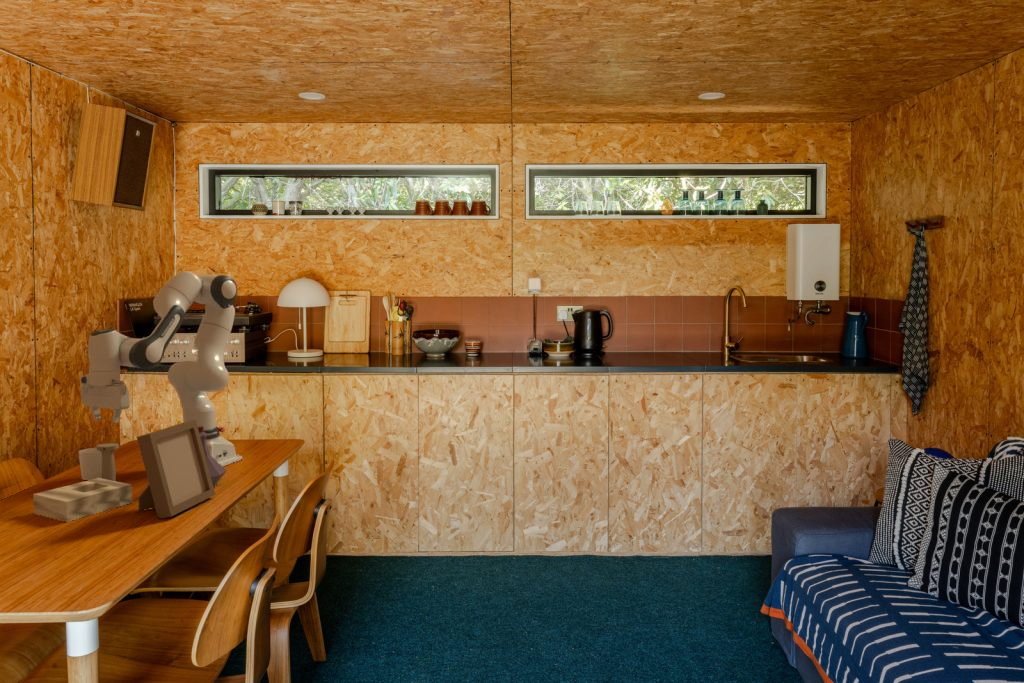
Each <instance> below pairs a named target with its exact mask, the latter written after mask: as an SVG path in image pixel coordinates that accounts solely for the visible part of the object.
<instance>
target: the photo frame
mask: <svg viewBox="0 0 1024 683" xmlns="http://www.w3.org/2000/svg"><path fill="white" fill-rule="evenodd" d="M136 440H137V444H138V447H139V450H140V455H141V459H142V462H143V465H144V469H145V473H146V477H147V481H148V484H147V487H146V488H145V489H144V490H143V491H142V493H141V494H140V495H139V496H138V510H143V511H145V510H144V509H148V510H150V509H149V508H153V509H155V511H156V514H157V518H158V517H159V518H162V519H165V518H166V519H167V518H171V517H173V516H176V515H177V514H179V513H181V512H183V511H185V510H187V509H189V508H192V507H194V506H196V505H197V504H199V503H201V502H203V501H205V500H208V499H210V498H212V497H214V496H215V495H216V492H215V488H214V486H213V484H212V480H211V476H210V472H209V468H208V465H207V461H206V457H205V453H204V449H203V445H202V442H201V438H200V434H199V430H198V426H197V422H196V420H193V421H189V422H184V423H183V422H182V423H179V424H174V425H171V426H169V427H165V428H162V429H159V430H155V431H152V432H149V433H146V434H143V435H139V436H137V437H136ZM154 507H155V508H154Z"/></svg>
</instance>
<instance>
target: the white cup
mask: <svg viewBox="0 0 1024 683" xmlns="http://www.w3.org/2000/svg"><path fill="white" fill-rule="evenodd" d="M78 457H79V468H80V472H81V480H82V479H83V480H92V479H96V478H102V452H100V451H98V450H97V447H91V448H90V447H89V448H84V449H80V450H79V451H78ZM83 480H82V481H83Z"/></svg>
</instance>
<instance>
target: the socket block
mask: <svg viewBox="0 0 1024 683" xmlns="http://www.w3.org/2000/svg"><path fill="white" fill-rule="evenodd" d="M132 493H133V492H132V484H130V483H126V482H120V481H111V480H107V479H102V478H96V479H92V480H88V481H81V482H76V483H73V484H69V485H66V486H65V485H64V486H60V487H57V488H53V489H48V490H45V491H40V492H36V493H33V494H32V495H33V511H34V512H33V513H34V515H36V514H37V516H40V515H42V516H41V517H44V516H45V517H44V518H48V517H49V518H48V519H52V518H53V520H56V519H57V520H56V521H60V520H62V521H61V522H64V521H65V523H69V521H71V522H73V521H72V520H74V521H77V520H80V519H79V518H81V519H83V518H82V517H84V518H86V517H85V516H88V515H91V516H93V515H92V514H94V515H97V514H96V513H98V514H100V513H99V512H101V513H104V512H103V511H105V512H107V511H106V510H108V511H110V510H109V509H112V508H115V509H117V508H116V507H118V508H120V507H119V506H122V507H124V506H123V505H125V506H127V505H126V504H129V505H131V504H130V503H132V504H133V499H132V497H133V496H132ZM112 510H113V509H112ZM88 517H89V516H88ZM76 519H77V520H76Z"/></svg>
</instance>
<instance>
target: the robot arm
mask: <svg viewBox="0 0 1024 683" xmlns="http://www.w3.org/2000/svg"><path fill="white" fill-rule="evenodd" d="M237 294H238V285H237V282H236V281H235V279H234V278H232V277H230V276H228V275H225V274H224V275H223V274H203V275H197V274H196V273H194V272H192V271H189V270H183V271H180V272H179V273H177V274H176V275H174V276H173V277H171V279H169V280H168V281H167V282H166V283H165V284H164V285H163V286H162V287H161V289H160V290H159V291H158V292H157V293H156V295H155V297H154V298H153V301H152V303H153V304H152V305H153V309H154V311H155V312H156V314H157V315H158V316H159V317H160V318H161V319H160V320H159V322H158V324H157V325H156V326H155V328H154V329H153V331H152V332H151V334H150V335H149V336H146V337H143V338H137V337H135V338H134V337H130V336H126V335H125V334H122V333H121V332H119V331H117V330H116V329H114V328H104V329H103V328H102V329H97V330H94V331H92V332H91V334H90V335H89V339H88V345H87V346H88V349H87V351H88V353H87V354H88V356H87V357H88V360H89V368H88V373H87V374H85V375H83V376H80V377H79V383H80V384H81V386H80V399H81V403H82V404H83V405H84V406H90V408H89V409H90V411H91V413H92V416H93V420H95V421H99V420H101V419H102V413H100V410H99V409H100V408H103V409H111V410H112V412H113V416H111V423H119V422H120V416H121V415H122V412H123V410H126V409H127V410H129V409H130V406H131V402H130V401H131V400H130V393H129V392H130V391H129V389H128V386H127V384H125V382H124V380H121V366H123V367H129V368H139V369H142V370H153V369H155V368H156V367H157V366H158V365H160V364H161V362H162V360H163V358H164V355H165V352H166V350H167V347H168V345H169V344H170V342H171V341H172V339H174V336H175V335H176V333H177V331H178V330H179V328H180V327H181V325H182V324H183V323H184V322H183V321H184V319H185V316H186V312H187V311H188V310H189V308H190V307H192V305H193V304H197V305H199V304H203V305H205V308H204V309H205V313H204V314H203V317H202V319H201V322H200V324H199V327H198V329H197V332H196V336H195V337H194V340H193V343H194V347H195V348H196V349H197V358H196V360H195V361H193V360H183V361H182V360H181V361H178V362H175V363H173V364H172V365H171V366H170V368H169V369H168V372H167V380H168V382H169V384H170V385H171V386H172V387H173V388H174V389H175V392H176V393H177V396H178V399H179V401H180V405H181V409H182V423H184V422H189V421H193V420H196V422H197V426H203V427H204V428H203V432H205V433H206V434H208V436H207V438H206V444H207V447H208V450H209V453H210V455H211V456H212V457H213V458H214V459H215V460H216V461H217V462H218V463H219V464H220V465H221V466H222V467H225V466H227V465H231V464H234V463H237V462H238V461H241V459H242V460H243V456H242V455H240V454H236V448H235V445H234V444H233V443H232V442H231V441H229V440H228V439H226V438H224V437H223V436H222V435H221V433H225V431H226V427H225V426H219V427H218V426H217V424H216V422H217V421H216V419H217V418H216V407H215V404H214V403H213V402H212V401H211V399H209V397H208V394H207V393H214V392H220V391H223V390H225V388H226V387H227V386H228V384H229V380H230V374H229V371H228V369H227V368H226V366H225V351H226V348H227V344H228V341H229V337H230V335H231V333H232V329H233V325H234V320H235V314H236V309H235V306H234V304H235V302H236V299H237V296H238V295H237ZM233 462H234V463H233Z"/></svg>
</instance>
